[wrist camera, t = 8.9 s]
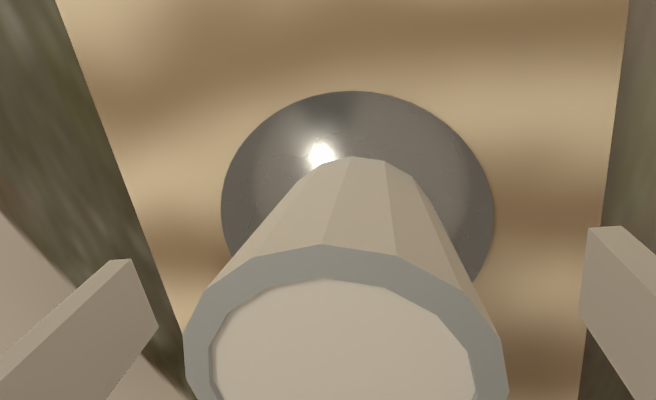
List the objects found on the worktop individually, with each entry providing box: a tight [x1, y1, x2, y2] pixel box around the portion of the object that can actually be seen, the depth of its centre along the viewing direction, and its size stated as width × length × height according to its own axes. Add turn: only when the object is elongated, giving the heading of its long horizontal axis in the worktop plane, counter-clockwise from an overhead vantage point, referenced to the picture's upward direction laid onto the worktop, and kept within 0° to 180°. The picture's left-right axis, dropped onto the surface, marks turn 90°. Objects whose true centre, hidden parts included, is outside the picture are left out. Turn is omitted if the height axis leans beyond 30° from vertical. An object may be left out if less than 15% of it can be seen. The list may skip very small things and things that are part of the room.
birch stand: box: [55, 0, 630, 400], centre depth 17 cm, size 20×17×4 cm
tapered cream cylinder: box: [183, 156, 509, 400], centre depth 11 cm, size 7×7×7 cm
